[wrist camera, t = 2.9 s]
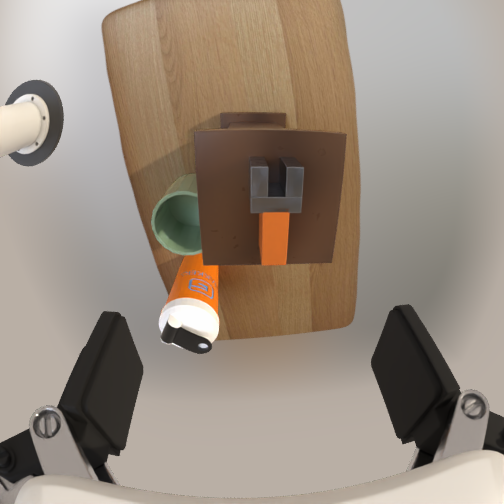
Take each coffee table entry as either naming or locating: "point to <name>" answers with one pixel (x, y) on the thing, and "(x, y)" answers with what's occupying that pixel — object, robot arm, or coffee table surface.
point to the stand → (237, 182)
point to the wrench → (275, 205)
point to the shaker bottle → (192, 307)
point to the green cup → (178, 217)
